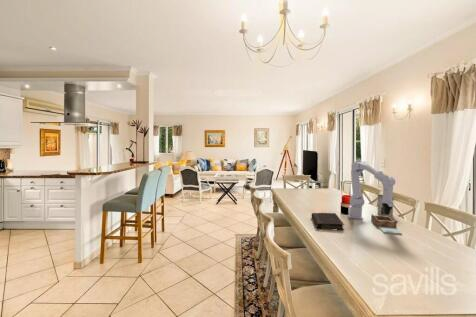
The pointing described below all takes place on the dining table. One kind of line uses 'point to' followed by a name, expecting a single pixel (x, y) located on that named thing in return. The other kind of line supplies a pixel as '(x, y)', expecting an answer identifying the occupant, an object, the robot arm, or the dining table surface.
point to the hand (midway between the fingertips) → (386, 214)
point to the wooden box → (384, 221)
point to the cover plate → (390, 230)
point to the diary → (327, 221)
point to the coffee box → (380, 207)
